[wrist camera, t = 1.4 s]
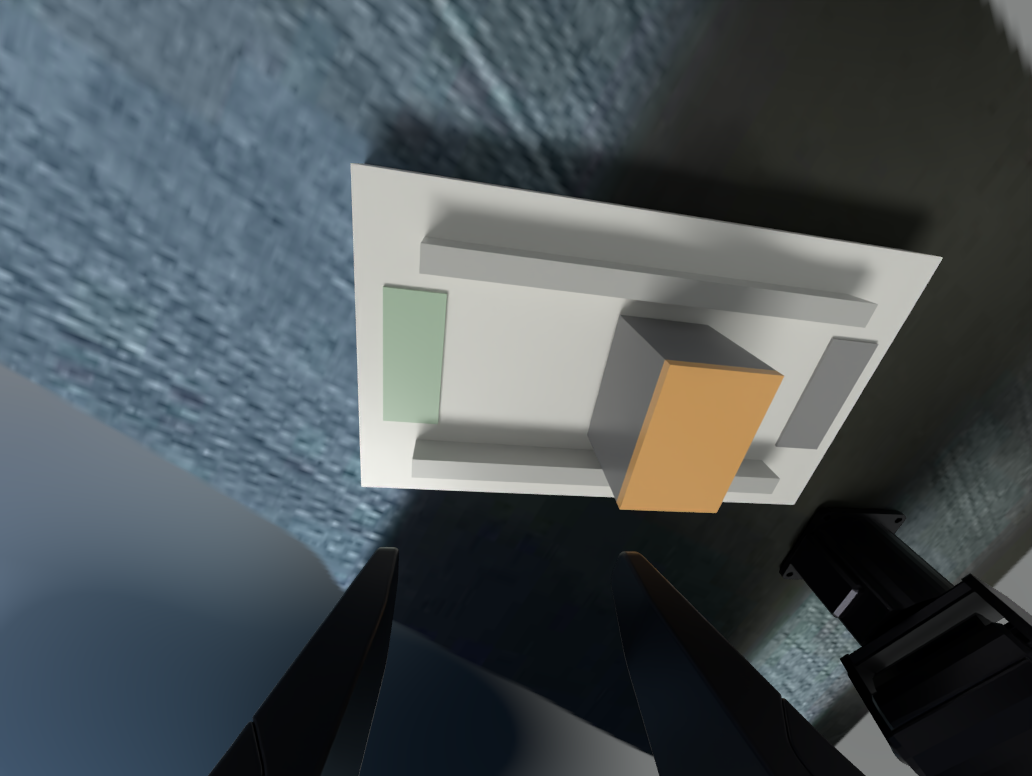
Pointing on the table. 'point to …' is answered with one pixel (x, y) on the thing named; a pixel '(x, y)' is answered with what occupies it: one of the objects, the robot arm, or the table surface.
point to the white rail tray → (590, 328)
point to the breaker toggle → (676, 414)
